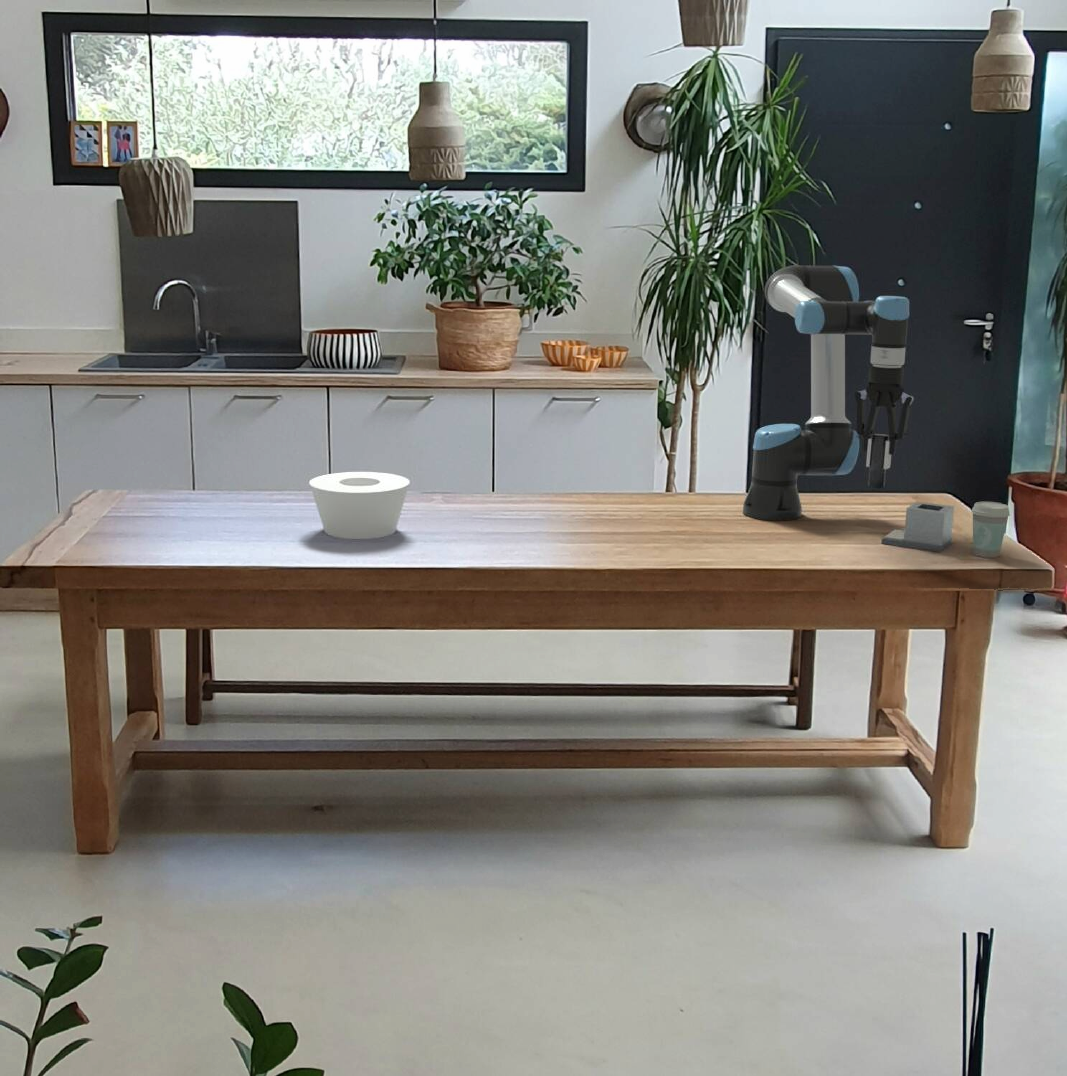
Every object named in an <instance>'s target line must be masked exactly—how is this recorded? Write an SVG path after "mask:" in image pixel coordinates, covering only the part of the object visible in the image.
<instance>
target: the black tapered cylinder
mask: <svg viewBox="0 0 1067 1076" xmlns="http://www.w3.org/2000/svg"><path fill="white" fill-rule="evenodd" d="M871 437H872V449H871V461H870V467H869V471H868V472H869V474H868V483H867V484H868V487H869V488H872V489H873V488H874V489H883V488H885V483H886V471H887V469H884V458H885V446H886V441H887V440H889V434H885V433H884V434H883V433H875V434H873V436H871Z"/></svg>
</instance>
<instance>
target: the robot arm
mask: <svg viewBox="0 0 1067 1076" xmlns="http://www.w3.org/2000/svg"><path fill="white" fill-rule="evenodd" d="M764 297H765V300H766V301H767V303H768V305H769V306H770V307H771V308H773V309H774V310H776V311H777V312H780V313H787V314H789V316H791V317H792V318H794V324H795V327H796V331H798V332H799V333H800V334H805V335H806V334H808V335H810V376H811V377H810V381H811V382H810V389H811V390H810V391H811V393H810V394H811V395H810V400H811V401H810V409H811V410H810V413H811V414H810V418H809V419H808V420H807V421H806V422H805V425H804V426H805V428H804V429H803V430H802V428H801V426H800V425H799V424H795V423H776V424H769V425H765V426H763V427H760V428H758V429H757V430H756V432H755V434H754V439H753V445H752V449H753V452H752V469H751V484H750V486H749V489H748V492H747V493H746V497H745V499H744V502H743V505H742V513H743V514H744V515H745V516H747V517H750V518H753V519H758V520H767V521H792V520H797V519H800V518H801V517H802V513H803V512H802V511H803V507H802V502H801V499H800V496H799V495H800V494H799V491H798V476H830V477H833V476H834V477H835V476H843V475H848V474H849V473H851V472H852V470H853V469H854V467H855V465H856V464H857V460H858V458H859V456H858V455H859V450H860V438H859V435H860V436H862V437H863V438H864V439H863V452H866V464H865V467H867V468H870V461H871V449H872V436H873V433H874V430H875V426H876V422H877V417H878V414H879V410H880V409H881V407H884V408H885V409H886V414H887V425H888V436H889V439H888V440H887V441H886V446H885V458H884V469H886V470H889V469H890V468H891V463H892V462H891V461H892V455H893V456H894V455H895V454H896V452H897V443H898V440H902V439H904V438H905V437H906V436H907V429H908V426H909V425H908V424H909V418H910V411H911V406H912V404H913V403H914V400H915V396H914V395H909V394H907V393H905V391H904V388H903V380H904V370H905V369H904V368H903V367H902V366H903V365H905V361H906V360H905V359H906V349H907V348H906V347H907V337H908V329H909V317H910V313H911V312H910V300H909V298H907V297H905V296H898V295H897V296H896V295H880V296H878V297H876V299H875V300H865V301H859V299H860V289H859V283H858V279H857V276H856V274H855V272H854V271H853V270H852V269H851V268H850V267H848V266H841V265H840V266H839V265H798V264H797V265H788V266H785V267H782V268H780V269H778V270H776V271H775V272H774V273H773V274H771V275H770V277H769V278H768V279H767V280H766V283H765V286H764ZM845 335H869V336H870V335H871V336H872V337H871V347H870V349H871V350H870V361H869V362H870V364H872V365H870V367H869V372H868V384H867V386H866V387H865V389H863V390H859V391H856V392H855V393H854V397H855V400H856V430H854V429H852V422H851V421H850V420H849V419H848V418H847V416H846V353H845V352H846V338H845V337H846V336H845ZM867 396H868V398H869V399H870V401H871V405H870V410H869V414H868V418H867V422H866V399H867ZM900 399H901V403H902V408H901V412H900V420H899V425H897V424H898V423H897V412H896V411H897V405H896V404H897V403H898V402H899V400H900Z"/></svg>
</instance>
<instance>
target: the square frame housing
mask: <svg viewBox="0 0 1067 1076" xmlns="http://www.w3.org/2000/svg"><path fill="white" fill-rule="evenodd" d="M905 510H906V513H905V521H904V523H905V524H904V530H903V529H902V530H901V529H894V530H892V531H891V532H889V533H888V534H887V535H885V536H884V537H882V538H881V544H883V545H889V546H895V547H902V548H908V549H916V550H921V551H922V550H923V551H930V552H935V553H941V552H942V551H944V550H945V549H946V548H947V547H948V546H950V544H952V541H953V537H952V535H953V533H952V532H953V523H954V513H955V506H954V505H953V506H952V505H945V504H938V503H929V502H922V501H916V502H914V503H913V504H911V505H909V506H908V507H906V509H905Z"/></svg>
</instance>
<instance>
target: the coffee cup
mask: <svg viewBox="0 0 1067 1076" xmlns="http://www.w3.org/2000/svg"><path fill="white" fill-rule="evenodd" d="M971 509H972V510H971V511H970V512H971V514H972V554H973V556H977V557H979V558H986V559H987V558H988V559H995V558H998V557H999V556H1000V554H1001V550H1002V547H1003V546H1002V545H1003V540H1004V536H1005V534H1006V533H1005V532H1006V528H1007V527H1006V526H1007V524H1008V519H1009V516H1011V514H1010V509H1009V506H1008V505H1007V504H1004V503H1002V502H996V501H995V502H994V501H978V502H975V503H974V505H973V507H971Z"/></svg>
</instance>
